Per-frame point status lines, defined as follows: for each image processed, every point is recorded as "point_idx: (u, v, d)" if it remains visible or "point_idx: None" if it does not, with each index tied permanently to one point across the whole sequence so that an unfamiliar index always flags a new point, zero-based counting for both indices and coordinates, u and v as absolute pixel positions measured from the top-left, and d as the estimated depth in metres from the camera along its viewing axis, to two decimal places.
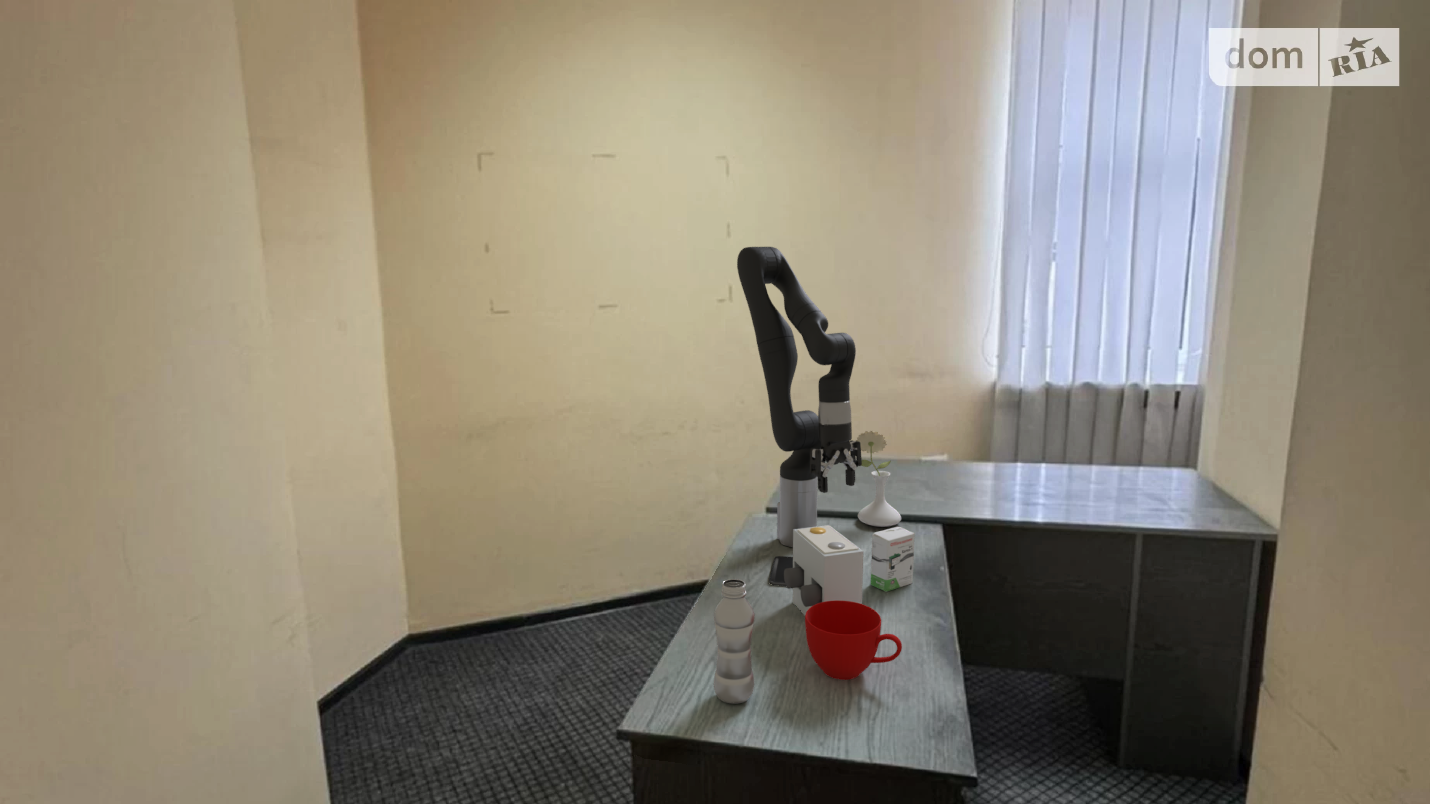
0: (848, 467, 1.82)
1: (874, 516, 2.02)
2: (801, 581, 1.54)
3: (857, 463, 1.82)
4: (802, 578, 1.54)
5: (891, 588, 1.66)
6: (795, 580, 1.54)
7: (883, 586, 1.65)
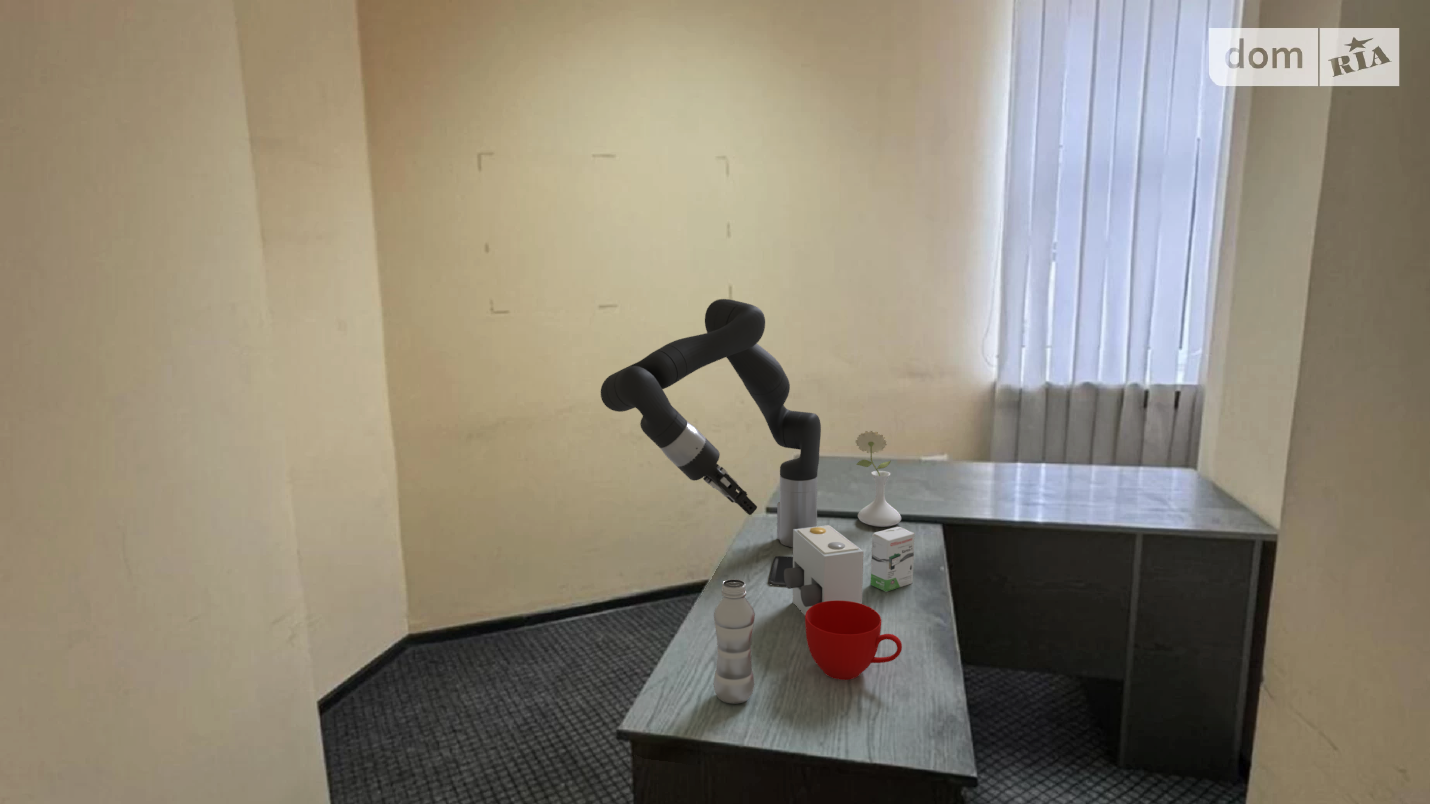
0: None
1: (874, 516, 2.02)
2: (801, 581, 1.54)
3: None
4: (802, 578, 1.54)
5: (891, 588, 1.66)
6: (795, 580, 1.54)
7: (883, 586, 1.65)
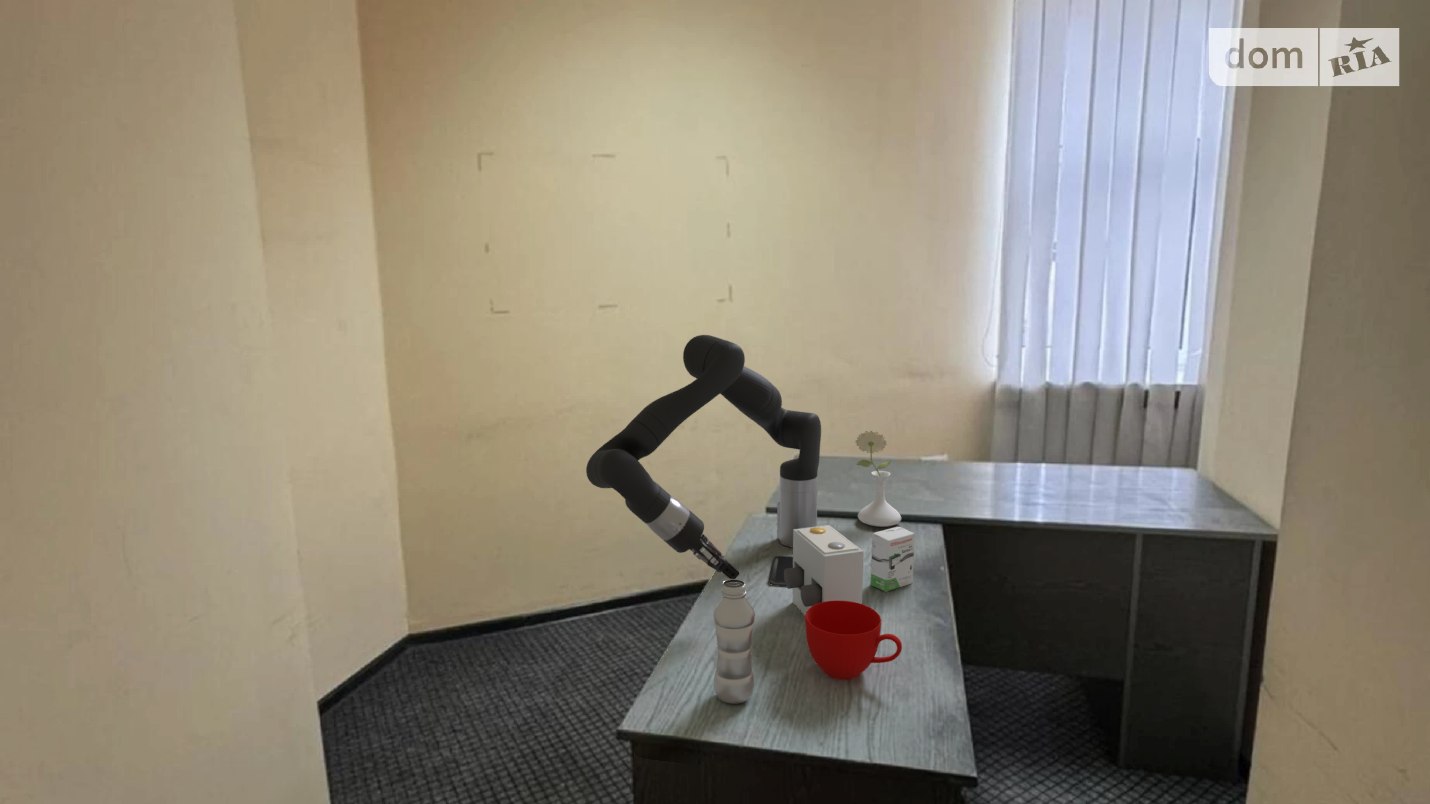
0: None
1: (874, 516, 2.02)
2: (801, 581, 1.54)
3: None
4: (802, 578, 1.54)
5: (891, 588, 1.66)
6: (795, 580, 1.54)
7: (883, 586, 1.65)
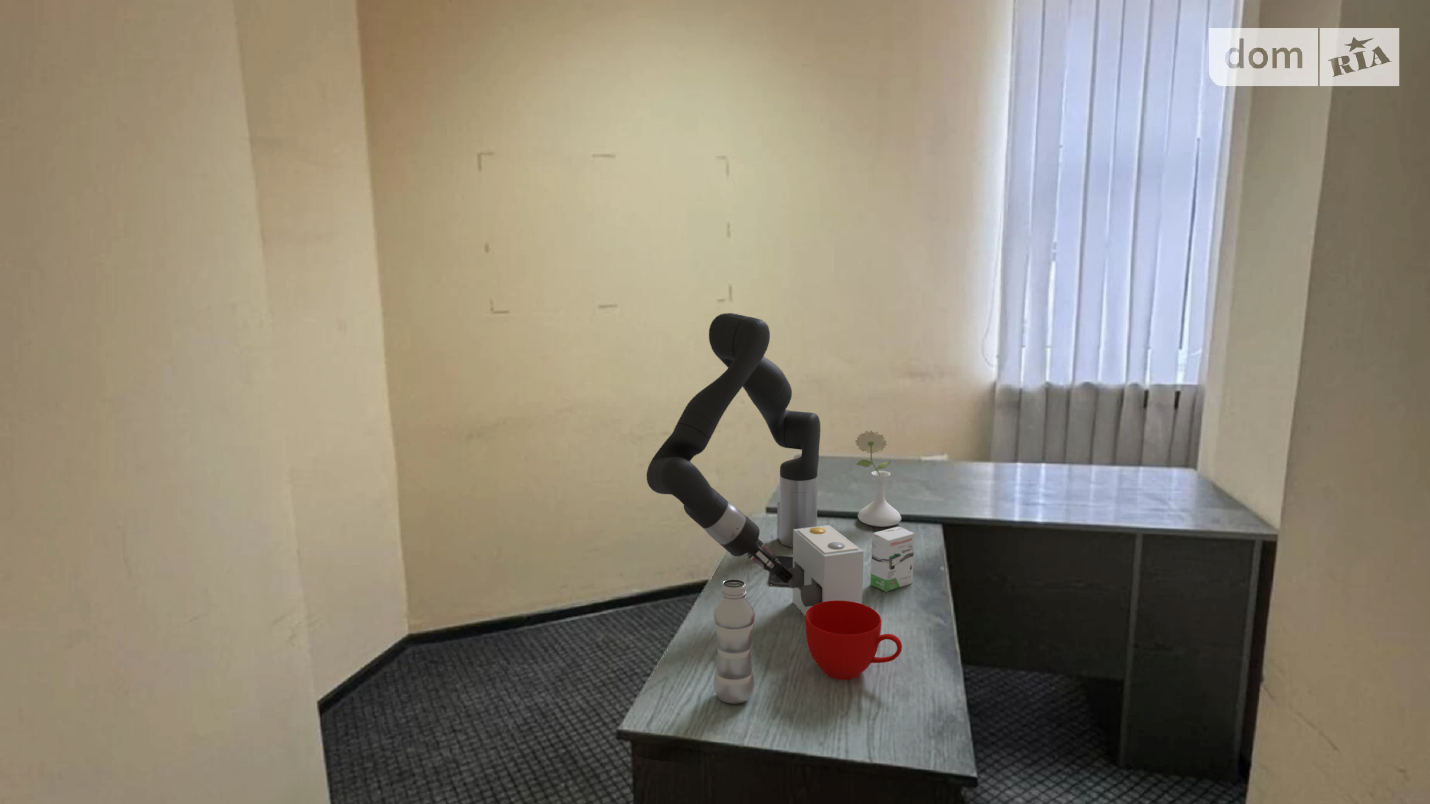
0: None
1: (874, 516, 2.02)
2: None
3: None
4: None
5: (891, 588, 1.66)
6: (799, 579, 1.54)
7: (883, 586, 1.65)
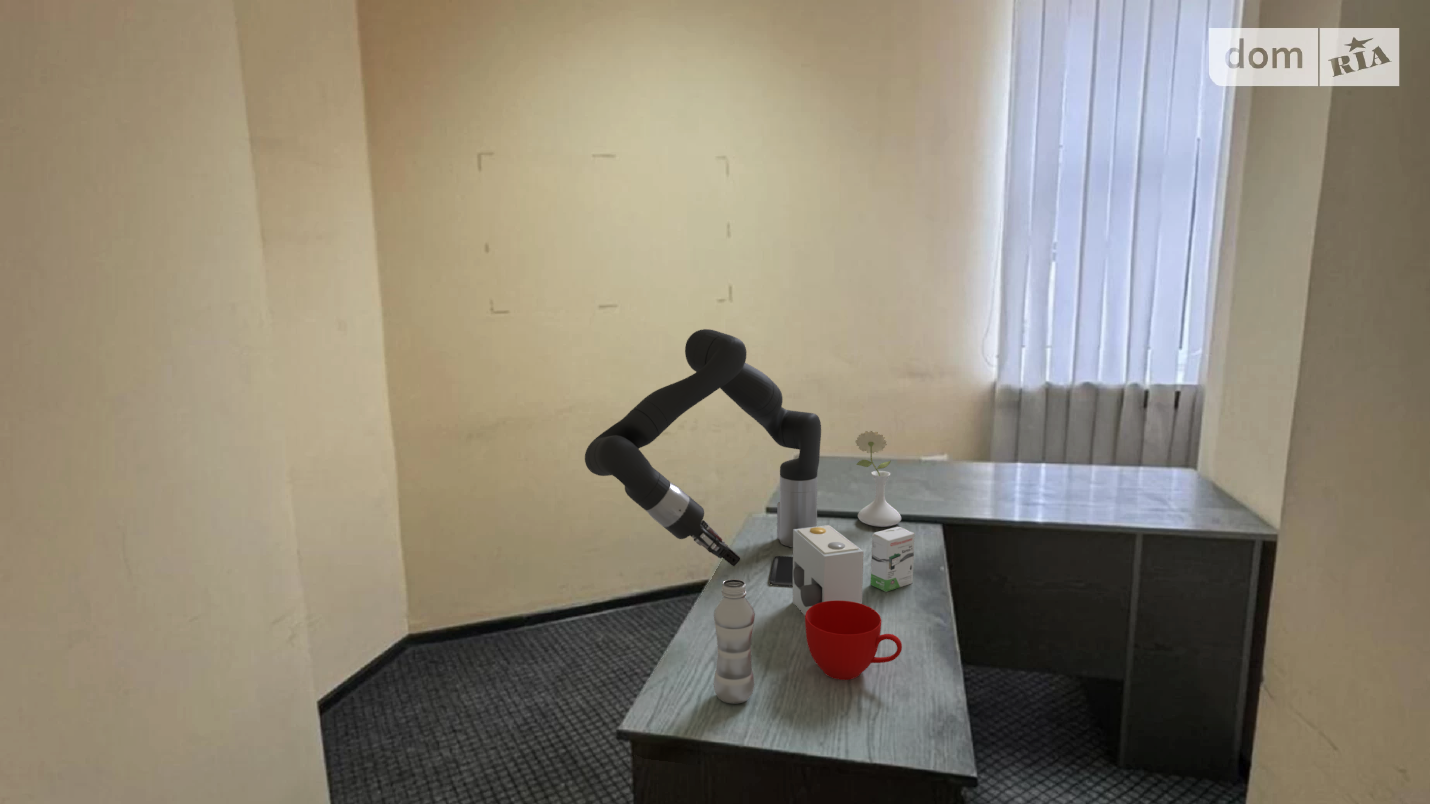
0: None
1: (874, 516, 2.02)
2: None
3: None
4: None
5: (891, 588, 1.66)
6: None
7: (883, 586, 1.65)
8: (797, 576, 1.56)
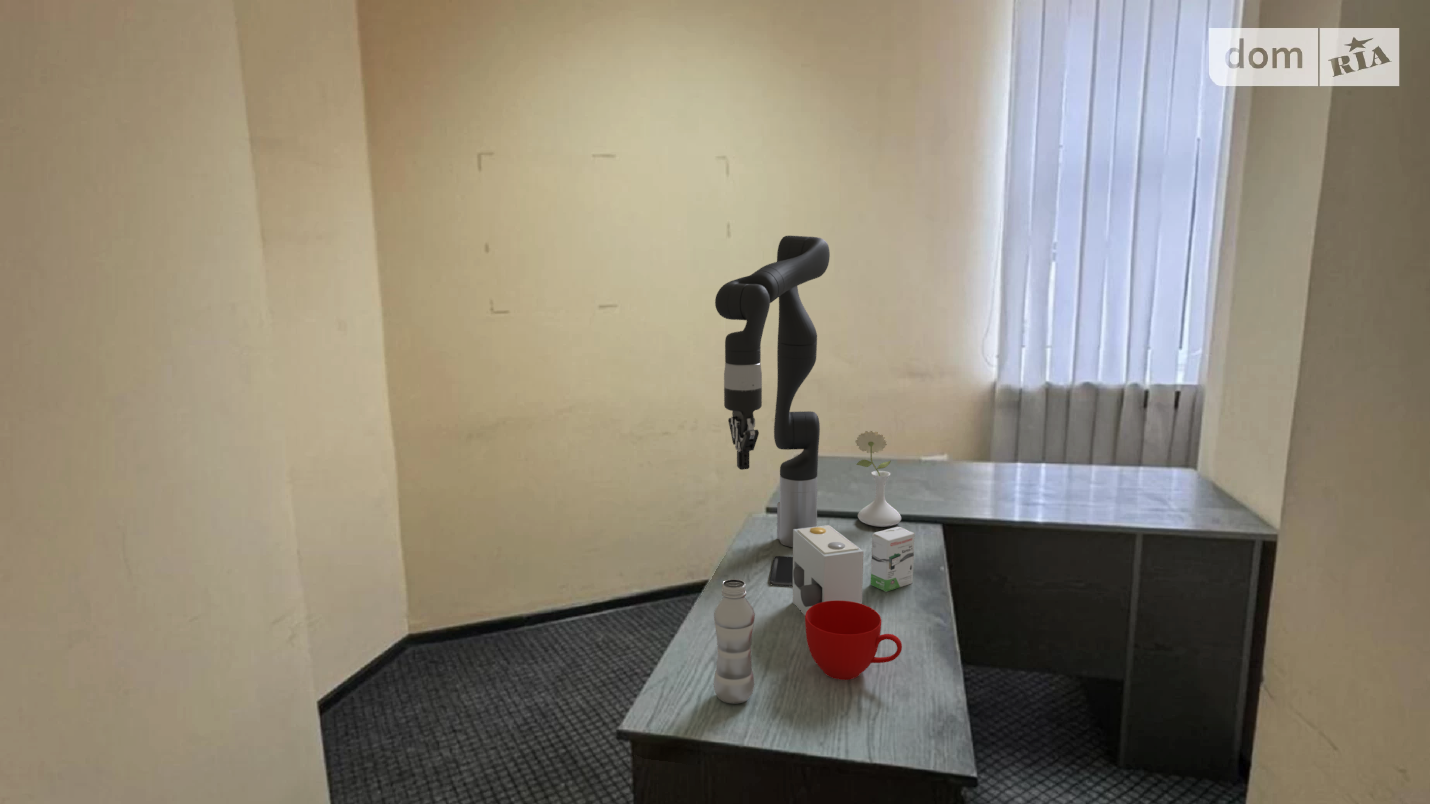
0: None
1: (874, 516, 2.02)
2: None
3: None
4: None
5: (891, 588, 1.66)
6: None
7: (883, 586, 1.65)
8: (797, 576, 1.56)
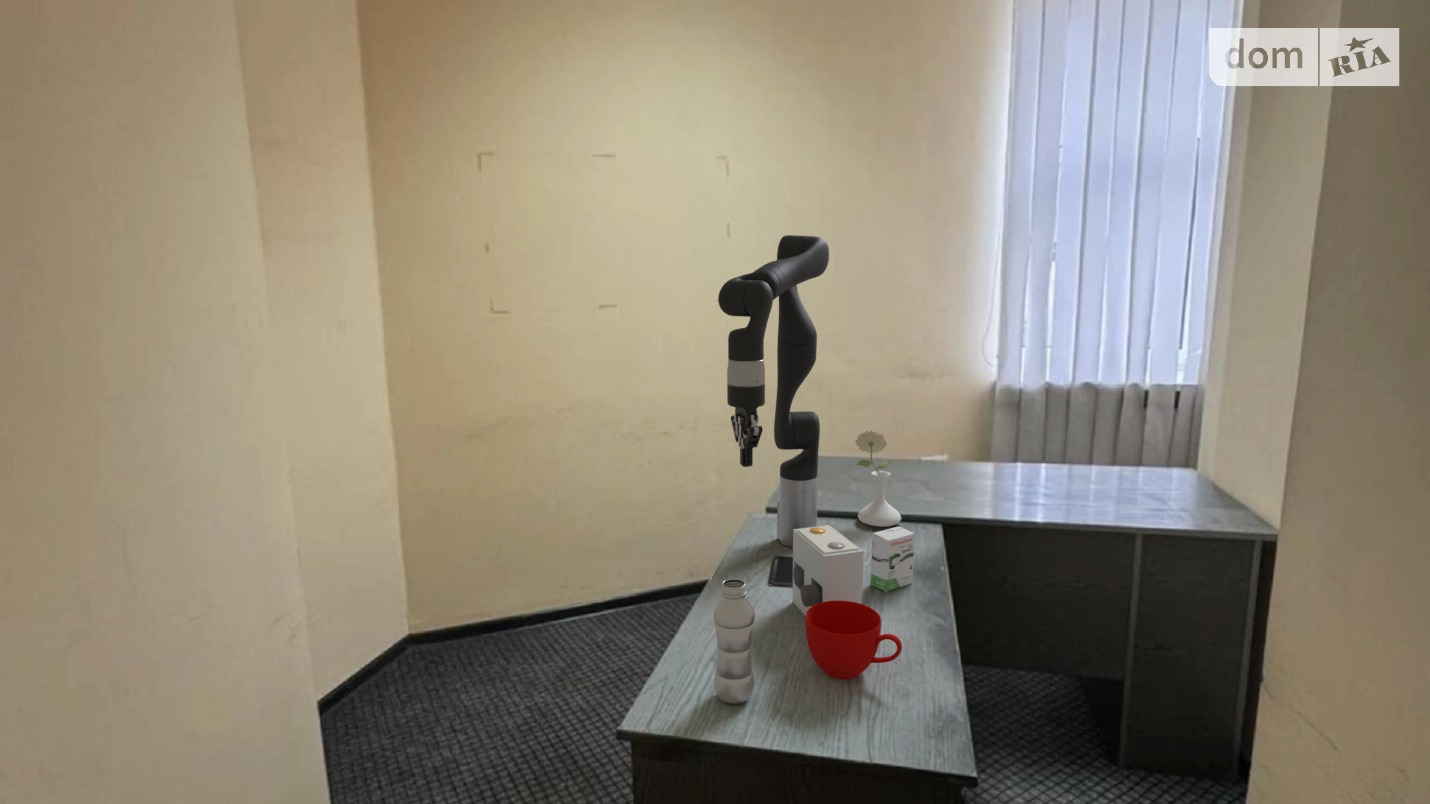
0: None
1: (874, 516, 2.02)
2: None
3: None
4: None
5: (891, 588, 1.66)
6: None
7: (883, 586, 1.65)
8: (797, 576, 1.56)
